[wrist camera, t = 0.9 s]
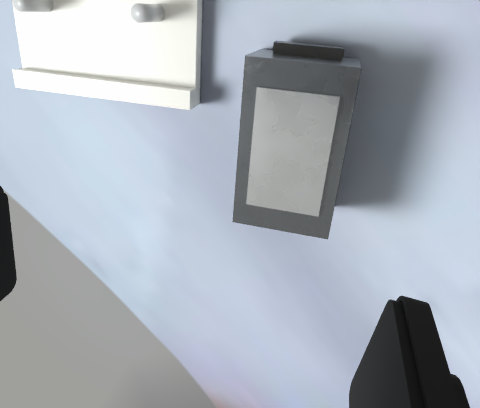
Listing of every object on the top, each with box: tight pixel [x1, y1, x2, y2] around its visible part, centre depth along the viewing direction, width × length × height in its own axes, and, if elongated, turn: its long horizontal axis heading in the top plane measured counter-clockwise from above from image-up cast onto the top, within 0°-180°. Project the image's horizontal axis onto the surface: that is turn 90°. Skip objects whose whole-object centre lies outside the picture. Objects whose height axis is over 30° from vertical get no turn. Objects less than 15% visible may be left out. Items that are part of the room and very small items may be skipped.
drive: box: [233, 41, 362, 239], centre depth 25 cm, size 6×11×5 cm, turn 176°
